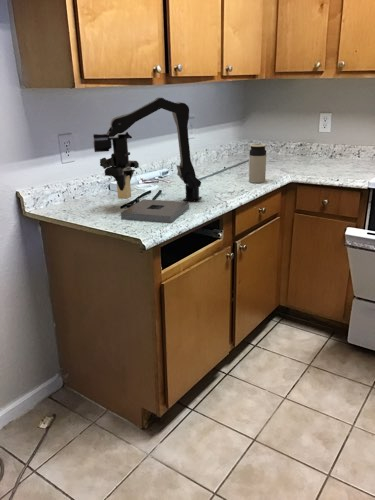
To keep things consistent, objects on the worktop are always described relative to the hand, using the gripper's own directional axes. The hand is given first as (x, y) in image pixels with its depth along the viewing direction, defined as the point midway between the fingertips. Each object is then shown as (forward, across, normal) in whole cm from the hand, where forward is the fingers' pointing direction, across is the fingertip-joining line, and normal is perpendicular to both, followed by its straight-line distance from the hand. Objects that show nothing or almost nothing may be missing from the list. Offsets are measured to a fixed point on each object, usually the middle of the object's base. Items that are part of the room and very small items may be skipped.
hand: (124, 189), depth 180 cm
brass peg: (+4, 0, 0) cm, 4 cm away
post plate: (+7, +7, +17) cm, 20 cm away
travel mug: (+8, -56, +44) cm, 71 cm away
